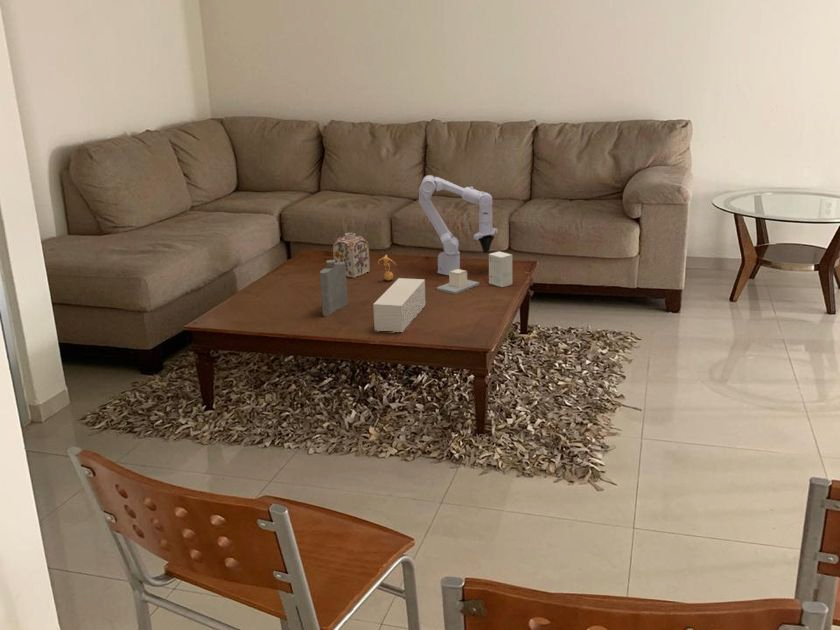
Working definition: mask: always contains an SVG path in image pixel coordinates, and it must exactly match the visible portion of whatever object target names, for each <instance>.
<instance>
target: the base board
mask: <svg viewBox="0 0 840 630" xmlns="http://www.w3.org/2000/svg"><path fill="white" fill-rule="evenodd" d="M479 285H480V282H479V281H475V280H471V279H467V285H465V286H462V287H460V288H459V287H454V286H450V282H447V283H445V284H443V285H439V286H437V287H436V290H437V291H439V290H440V292H444V293H448V294H452V295H457V294H460V293H463V292H465V291H468V290H470V289H472V288H475V287H476V286H477V287H478V286H479ZM474 286H475V287H474ZM469 288H470V289H469Z"/></svg>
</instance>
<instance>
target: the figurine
mask: <svg viewBox="0 0 840 630" xmlns="http://www.w3.org/2000/svg"><path fill="white" fill-rule="evenodd" d="M377 261H378V262H377V265H380V261H383V266H384V270H385V272H384V274H383V278H384V279H385V280H386V281H391V280H393V278H394V274H393V272H391V271H390V270H391V265H390V262H391V263H393V264H394V265H395V266H397V264H396V262H395V261H394V260H393V259H391V258H389V257H388V254H385V255H384V256H383V257H381V258H379V259H378V260H377ZM387 267H388V269H387Z"/></svg>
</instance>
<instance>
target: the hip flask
mask: <svg viewBox="0 0 840 630" xmlns="http://www.w3.org/2000/svg"><path fill="white" fill-rule="evenodd" d="M325 263H326V267H324V268H323V269H321V270H320V271H319V279H320V294H321V295H320V297H321V309H322V316H323V315H330V314H331V313H332V312H334V311H335V310H337V309H339V308H341V307H343V308H345V307H347V306H348V305H349V303H348V287H347V285H348V284H347V277H346V267H345V262H338V263H336V262H335V260H334V259H329V260H328V259H327V260H326V262H325ZM346 305H347V306H346ZM344 306H345V307H344ZM341 309H342V308H341ZM339 310H340V309H339ZM337 311H338V310H337ZM335 312H336V311H335ZM335 312H334V313H335ZM330 316H331V315H330Z"/></svg>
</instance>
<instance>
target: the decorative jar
mask: <svg viewBox="0 0 840 630" xmlns="http://www.w3.org/2000/svg"><path fill="white" fill-rule="evenodd" d="M332 255H333V257H332V258H333V260H335V262H336V263H338V262H345V267H346V276H347V277H346V278H351V277H352V279H355V278H358V277H359V276H360V277H361V276H363V275H365V274H368V273H370V272H371V269H370V268H371V267H370V266H371V265H370V264H371V263H370V250H369V243H368V241H367V240H366V239H365V238H364V237H363V236H361V235H356V233H354V232H347V233H344V236H341V237H338V238H337V240H335V242H334V243H333V245H332ZM367 272H368V273H367ZM357 276H358V277H357Z"/></svg>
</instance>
